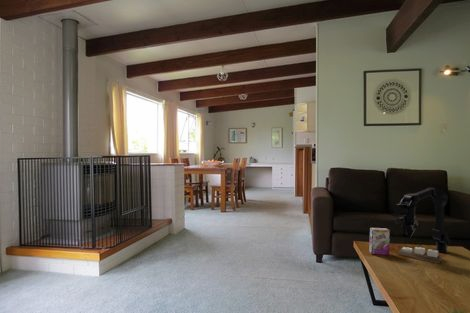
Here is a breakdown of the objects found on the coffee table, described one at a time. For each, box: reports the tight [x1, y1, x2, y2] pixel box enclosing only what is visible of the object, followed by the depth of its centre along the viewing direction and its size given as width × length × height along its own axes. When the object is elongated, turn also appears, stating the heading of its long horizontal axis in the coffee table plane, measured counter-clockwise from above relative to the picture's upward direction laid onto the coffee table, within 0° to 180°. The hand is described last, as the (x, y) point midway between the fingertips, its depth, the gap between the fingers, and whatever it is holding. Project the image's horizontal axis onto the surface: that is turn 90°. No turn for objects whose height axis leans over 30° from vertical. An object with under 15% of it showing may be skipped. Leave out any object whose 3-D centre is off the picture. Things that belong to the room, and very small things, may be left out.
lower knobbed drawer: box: [426, 248, 439, 258], centre depth 187 cm, size 5×5×3 cm
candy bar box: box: [368, 227, 391, 256], centre depth 197 cm, size 11×5×16 cm, turn 84°
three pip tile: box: [401, 246, 413, 253], centre depth 196 cm, size 5×5×3 cm
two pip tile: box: [413, 246, 426, 255], centre depth 191 cm, size 5×5×3 cm
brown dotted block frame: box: [398, 247, 443, 264], centre depth 191 cm, size 10×22×2 cm, turn 49°
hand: (409, 238), depth 195 cm, fingers closed
